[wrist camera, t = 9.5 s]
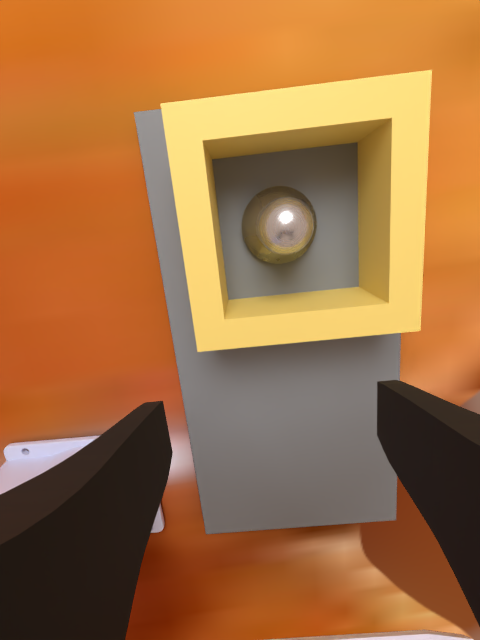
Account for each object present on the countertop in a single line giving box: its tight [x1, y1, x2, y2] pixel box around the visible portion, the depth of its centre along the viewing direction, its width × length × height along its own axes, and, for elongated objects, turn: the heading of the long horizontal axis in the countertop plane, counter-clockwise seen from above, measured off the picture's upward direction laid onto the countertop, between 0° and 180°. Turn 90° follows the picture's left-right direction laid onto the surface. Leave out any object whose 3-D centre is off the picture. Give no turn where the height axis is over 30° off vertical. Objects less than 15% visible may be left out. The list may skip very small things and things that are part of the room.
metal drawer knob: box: [242, 186, 317, 264], centre depth 15 cm, size 4×4×4 cm
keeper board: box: [134, 109, 401, 534], centre depth 20 cm, size 13×26×1 cm, turn 6°
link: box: [161, 70, 432, 352], centre depth 16 cm, size 10×10×4 cm
